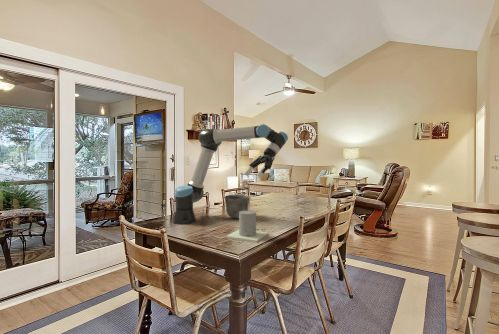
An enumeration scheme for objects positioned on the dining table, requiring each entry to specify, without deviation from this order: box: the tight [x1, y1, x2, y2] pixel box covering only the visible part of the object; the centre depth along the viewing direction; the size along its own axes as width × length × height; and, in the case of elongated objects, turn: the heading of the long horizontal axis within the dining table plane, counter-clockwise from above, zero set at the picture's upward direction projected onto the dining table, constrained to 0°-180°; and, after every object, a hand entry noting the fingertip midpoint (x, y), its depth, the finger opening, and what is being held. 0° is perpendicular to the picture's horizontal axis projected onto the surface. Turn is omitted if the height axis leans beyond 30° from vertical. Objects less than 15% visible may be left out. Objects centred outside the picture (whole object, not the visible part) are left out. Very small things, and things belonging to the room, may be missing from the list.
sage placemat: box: [225, 229, 269, 243], centre depth 152 cm, size 18×16×1 cm
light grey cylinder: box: [238, 209, 257, 237], centre depth 152 cm, size 10×10×12 cm
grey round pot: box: [224, 194, 250, 220], centre depth 196 cm, size 18×18×15 cm
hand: (252, 175), depth 171 cm, fingers open, 13 cm apart
